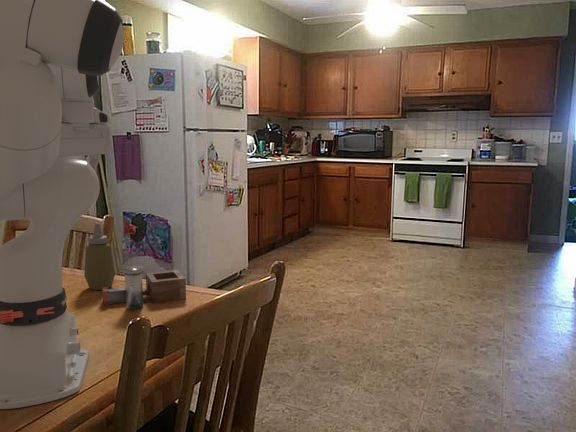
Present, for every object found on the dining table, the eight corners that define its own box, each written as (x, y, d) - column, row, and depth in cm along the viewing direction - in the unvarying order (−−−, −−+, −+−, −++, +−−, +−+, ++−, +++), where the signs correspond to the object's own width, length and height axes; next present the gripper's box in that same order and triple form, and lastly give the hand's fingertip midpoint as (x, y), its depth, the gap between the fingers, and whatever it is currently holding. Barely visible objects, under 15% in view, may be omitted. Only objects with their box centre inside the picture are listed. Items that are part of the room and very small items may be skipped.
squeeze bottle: (122, 285, 144) (119, 222, 141) (100, 293, 137) (97, 227, 133) (100, 281, 147) (97, 220, 144) (78, 289, 140) (74, 224, 137)
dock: (186, 298, 134) (185, 278, 133) (135, 305, 128) (135, 284, 127) (178, 289, 142) (177, 269, 141) (130, 294, 136) (129, 274, 135)
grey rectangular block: (135, 301, 131) (135, 288, 130) (104, 305, 128) (103, 291, 127) (133, 297, 134) (132, 284, 133) (102, 301, 131) (102, 287, 130)
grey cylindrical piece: (146, 309, 126) (145, 270, 124) (126, 312, 124) (124, 272, 122) (142, 303, 130) (141, 265, 128) (123, 305, 128) (121, 267, 126)
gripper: (50, 114, 106) (55, 180, 109) (114, 116, 125) (117, 172, 128) (26, 114, 108) (31, 179, 111) (93, 116, 127) (96, 171, 130)
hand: (78, 175), depth 119 cm, fingers open, 8 cm apart
